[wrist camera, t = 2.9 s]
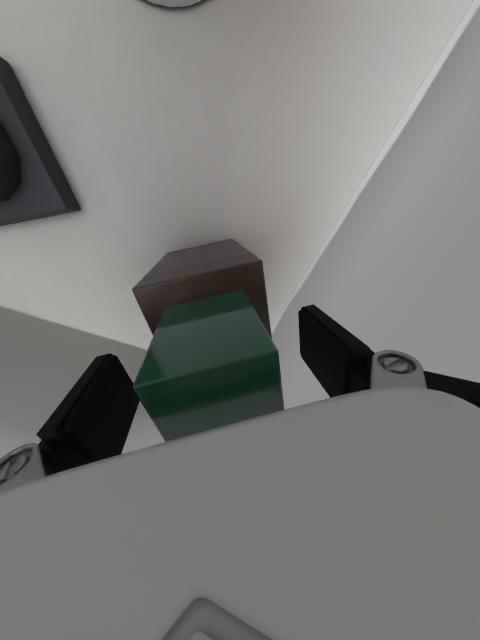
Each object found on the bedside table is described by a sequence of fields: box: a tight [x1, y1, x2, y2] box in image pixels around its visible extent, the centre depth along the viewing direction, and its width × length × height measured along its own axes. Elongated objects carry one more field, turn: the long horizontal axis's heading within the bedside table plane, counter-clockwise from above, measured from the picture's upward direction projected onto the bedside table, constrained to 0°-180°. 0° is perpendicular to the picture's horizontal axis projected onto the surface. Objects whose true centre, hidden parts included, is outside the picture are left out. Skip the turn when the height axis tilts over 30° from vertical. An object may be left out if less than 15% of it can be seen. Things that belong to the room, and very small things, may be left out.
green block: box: [133, 289, 284, 442], centre depth 10 cm, size 4×4×6 cm
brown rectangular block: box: [132, 239, 272, 339], centre depth 17 cm, size 7×7×12 cm
